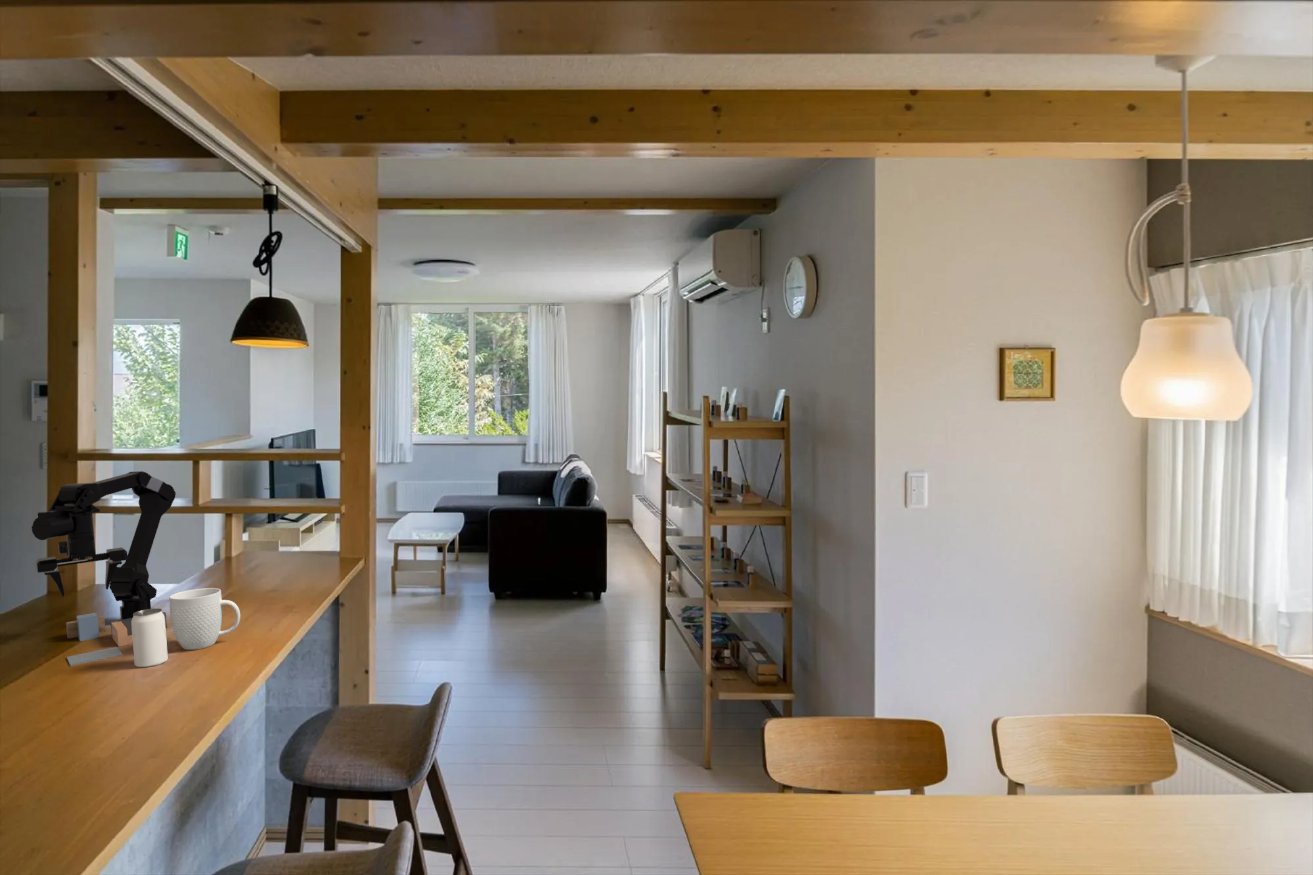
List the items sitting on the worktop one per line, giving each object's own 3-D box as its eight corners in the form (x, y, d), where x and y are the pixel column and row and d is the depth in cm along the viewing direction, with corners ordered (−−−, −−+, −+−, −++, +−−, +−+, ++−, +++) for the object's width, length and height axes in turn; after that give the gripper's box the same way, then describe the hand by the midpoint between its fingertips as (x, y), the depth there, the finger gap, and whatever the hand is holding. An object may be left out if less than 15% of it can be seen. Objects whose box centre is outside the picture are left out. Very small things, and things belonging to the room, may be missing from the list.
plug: (97, 635, 207) (95, 612, 207) (99, 638, 204) (97, 615, 204) (78, 638, 205) (76, 615, 204) (80, 641, 202) (78, 618, 201)
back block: (104, 630, 211) (103, 615, 211) (105, 631, 210) (104, 617, 210) (67, 637, 206) (66, 622, 206) (68, 639, 204) (66, 623, 204)
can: (174, 659, 184) (170, 608, 183) (148, 669, 178) (144, 616, 177) (154, 657, 186) (150, 607, 186) (127, 666, 180) (123, 614, 179)
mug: (245, 634, 202) (241, 583, 202) (238, 646, 192) (234, 593, 191) (178, 642, 197) (174, 591, 197) (168, 655, 187) (163, 601, 186)
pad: (117, 648, 194) (117, 646, 194) (122, 655, 188) (122, 653, 188) (66, 658, 188) (66, 656, 188) (70, 666, 182) (70, 664, 182)
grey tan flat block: (165, 626, 212) (164, 611, 212) (174, 635, 203) (173, 619, 203) (111, 637, 204) (110, 621, 204) (118, 646, 195) (117, 630, 195)
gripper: (119, 524, 215) (123, 581, 216) (31, 534, 203) (37, 594, 204) (125, 528, 207) (130, 587, 208) (35, 539, 195) (40, 602, 195)
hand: (85, 592), depth 204 cm, fingers open, 9 cm apart
